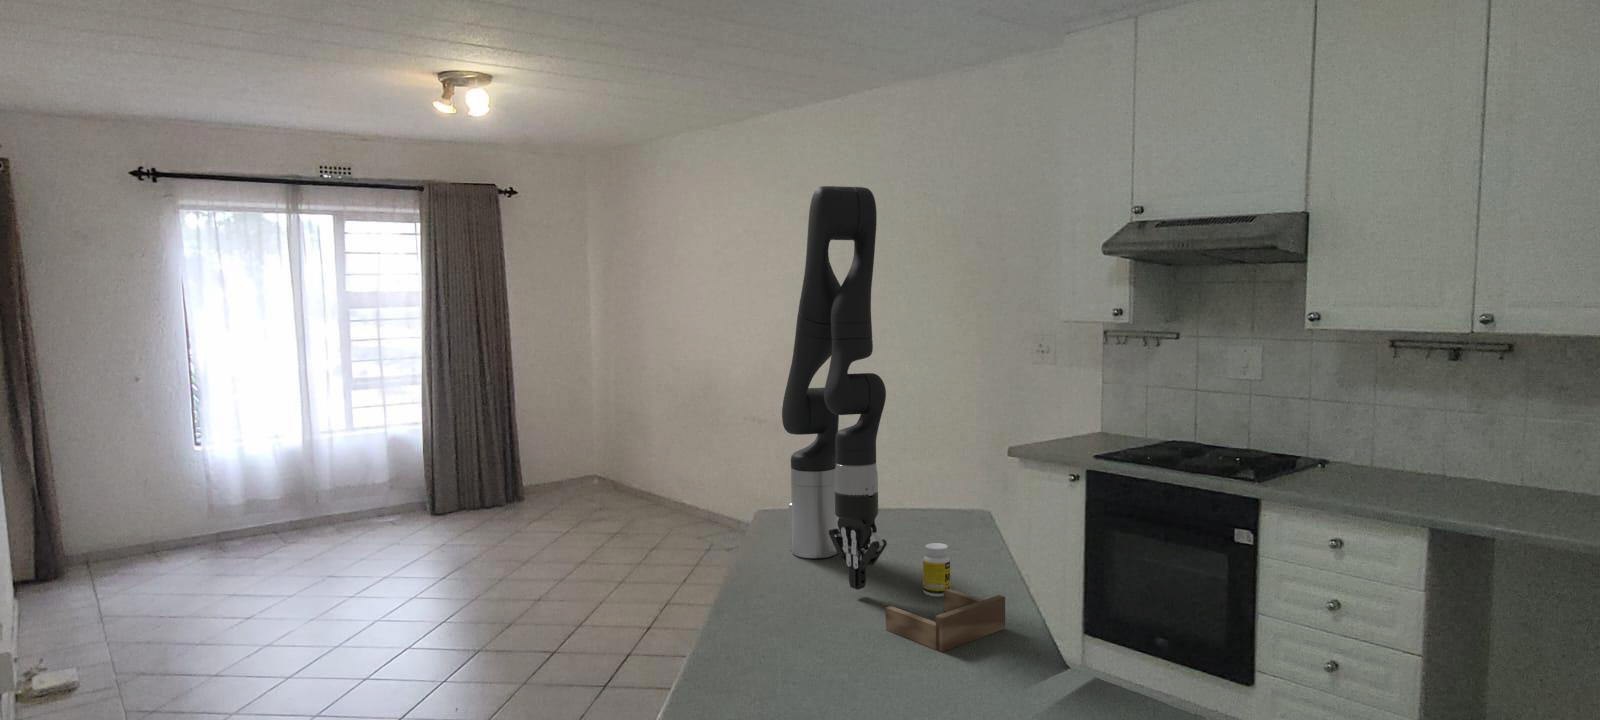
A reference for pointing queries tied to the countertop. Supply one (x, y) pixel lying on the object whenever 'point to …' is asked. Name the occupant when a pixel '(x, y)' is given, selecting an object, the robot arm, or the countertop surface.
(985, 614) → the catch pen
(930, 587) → the supplement bottle
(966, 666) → the countertop surface
